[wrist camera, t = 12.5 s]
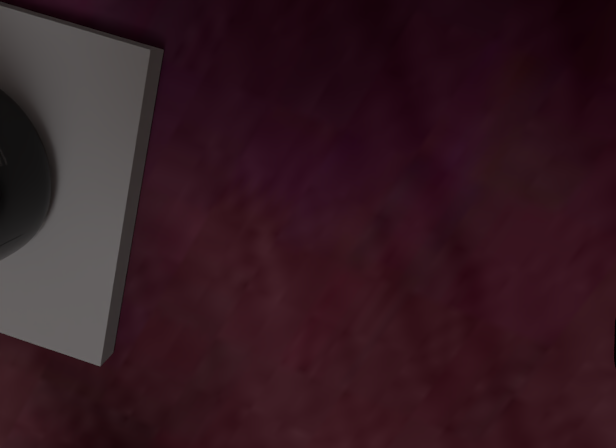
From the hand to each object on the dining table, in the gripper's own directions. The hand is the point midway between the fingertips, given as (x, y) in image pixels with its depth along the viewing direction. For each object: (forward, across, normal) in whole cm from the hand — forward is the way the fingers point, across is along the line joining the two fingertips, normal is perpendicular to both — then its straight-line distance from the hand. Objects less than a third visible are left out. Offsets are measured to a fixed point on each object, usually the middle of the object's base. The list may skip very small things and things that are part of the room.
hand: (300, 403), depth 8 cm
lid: (+14, +11, -2) cm, 18 cm away
